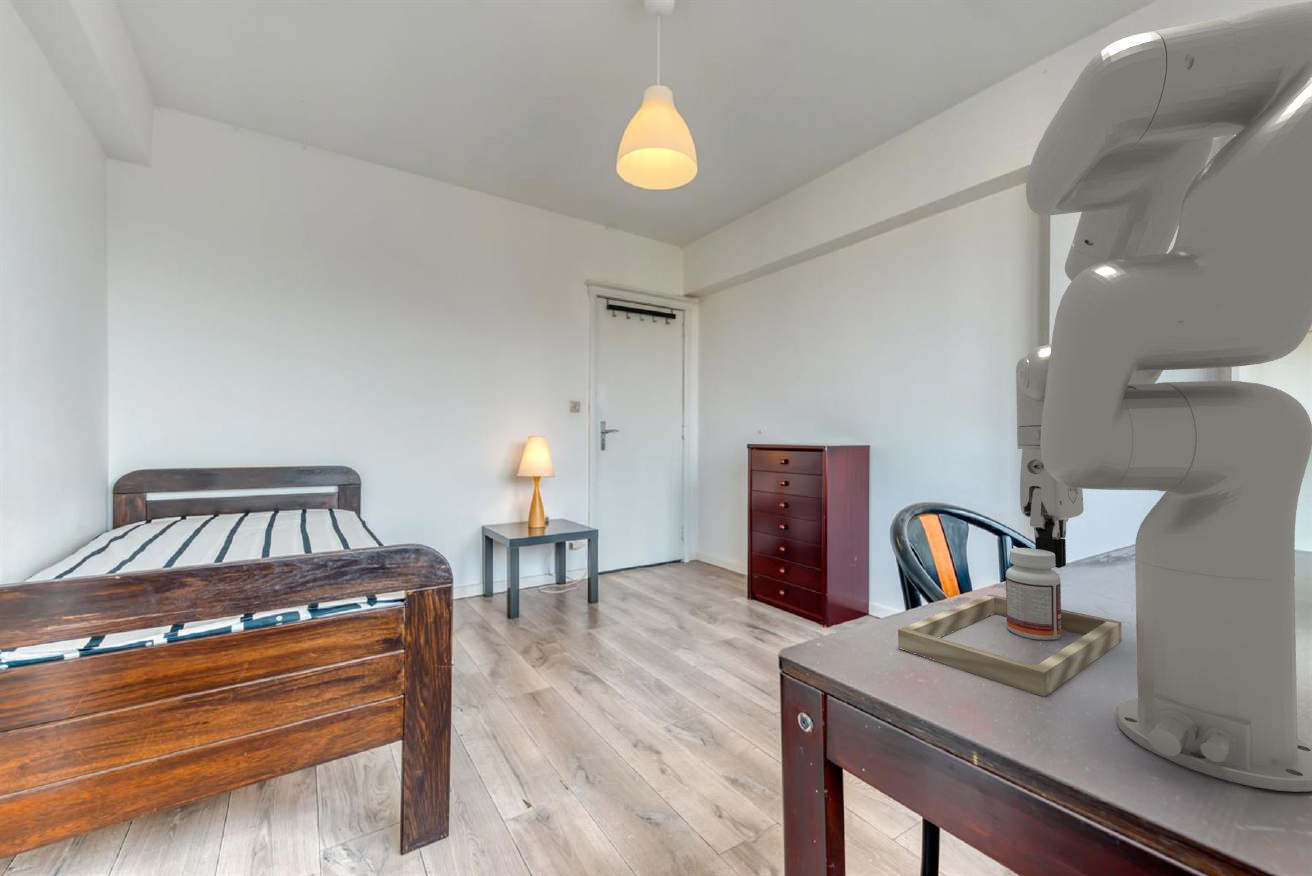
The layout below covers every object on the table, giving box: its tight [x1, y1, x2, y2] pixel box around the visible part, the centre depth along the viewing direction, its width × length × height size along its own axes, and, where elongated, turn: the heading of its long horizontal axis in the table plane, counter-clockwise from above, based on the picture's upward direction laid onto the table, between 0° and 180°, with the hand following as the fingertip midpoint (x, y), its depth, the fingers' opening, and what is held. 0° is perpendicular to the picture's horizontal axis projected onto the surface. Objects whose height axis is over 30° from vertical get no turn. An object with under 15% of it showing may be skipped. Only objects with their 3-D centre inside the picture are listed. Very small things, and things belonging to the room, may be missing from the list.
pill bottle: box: [1005, 547, 1062, 641], centre depth 73 cm, size 6×6×11 cm
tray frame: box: [897, 594, 1123, 698], centre depth 69 cm, size 26×16×2 cm, turn 125°
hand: (1050, 565), depth 77 cm, fingers closed
